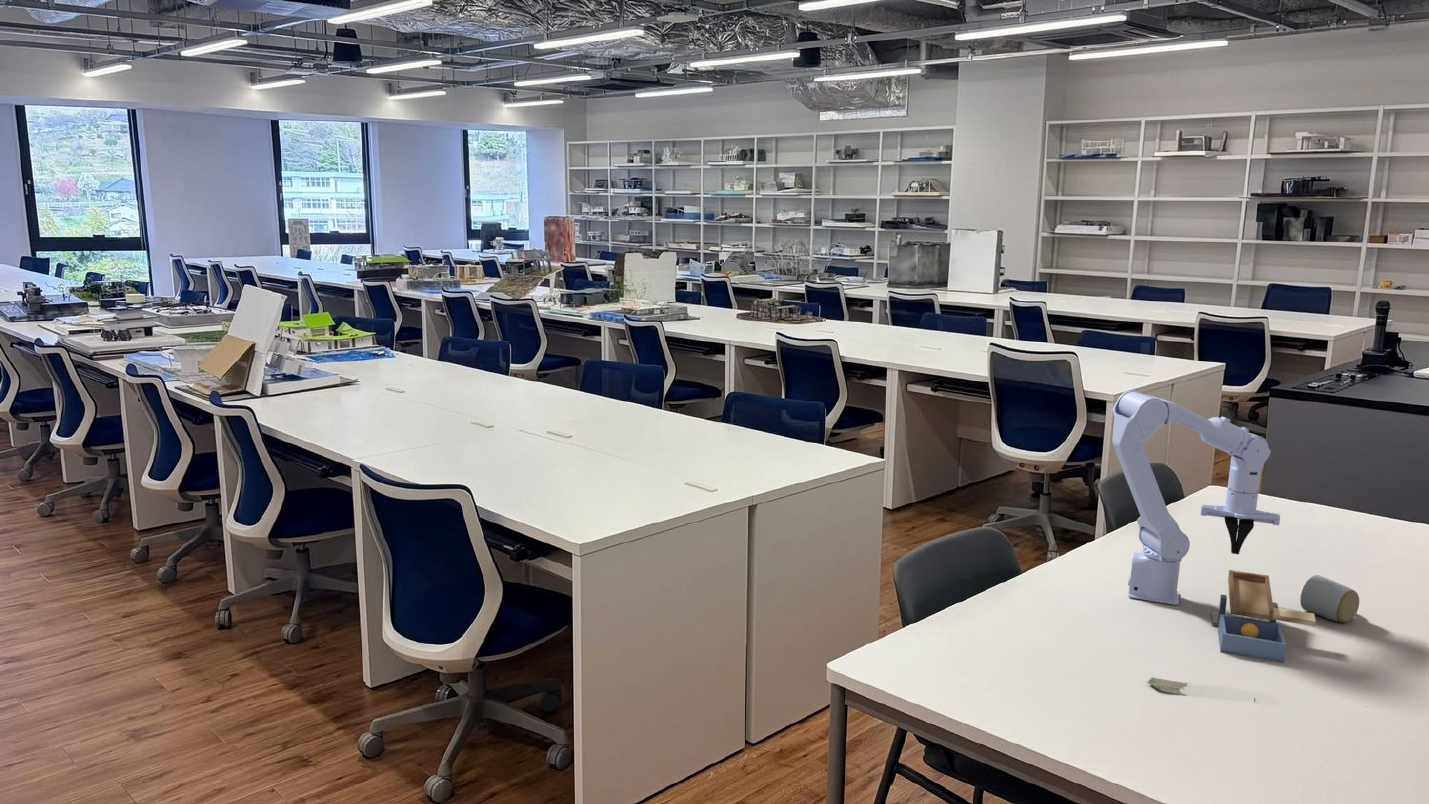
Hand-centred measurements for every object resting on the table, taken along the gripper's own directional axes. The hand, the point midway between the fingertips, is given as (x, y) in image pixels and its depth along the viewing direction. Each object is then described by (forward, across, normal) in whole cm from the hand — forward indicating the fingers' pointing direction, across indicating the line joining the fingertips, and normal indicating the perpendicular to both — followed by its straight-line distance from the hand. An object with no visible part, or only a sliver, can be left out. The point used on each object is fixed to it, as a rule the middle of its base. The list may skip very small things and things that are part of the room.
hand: (1234, 552), depth 211 cm
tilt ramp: (+6, +6, -17) cm, 19 cm away
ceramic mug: (+10, +18, -3) cm, 21 cm away
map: (+10, -5, -51) cm, 52 cm away
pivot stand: (+9, +2, -17) cm, 20 cm away
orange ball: (+8, +2, -25) cm, 26 cm away
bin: (+9, +2, -28) cm, 29 cm away
